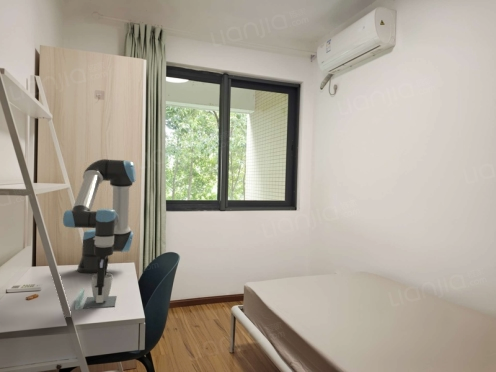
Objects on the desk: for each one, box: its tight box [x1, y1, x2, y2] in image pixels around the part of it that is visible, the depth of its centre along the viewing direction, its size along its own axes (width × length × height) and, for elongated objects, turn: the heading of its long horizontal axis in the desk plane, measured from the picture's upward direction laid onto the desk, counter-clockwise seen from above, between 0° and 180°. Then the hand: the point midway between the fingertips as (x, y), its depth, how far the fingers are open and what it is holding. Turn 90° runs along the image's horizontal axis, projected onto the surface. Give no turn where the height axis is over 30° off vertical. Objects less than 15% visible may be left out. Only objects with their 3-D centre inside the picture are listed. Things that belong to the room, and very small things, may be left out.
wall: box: [74, 288, 85, 311], centre depth 133 cm, size 14×1×4 cm, turn 19°
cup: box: [91, 272, 113, 301], centre depth 136 cm, size 8×8×10 cm
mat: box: [82, 295, 118, 310], centre depth 136 cm, size 12×12×1 cm
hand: (100, 298), depth 136 cm, fingers closed on cup, 8 cm apart
